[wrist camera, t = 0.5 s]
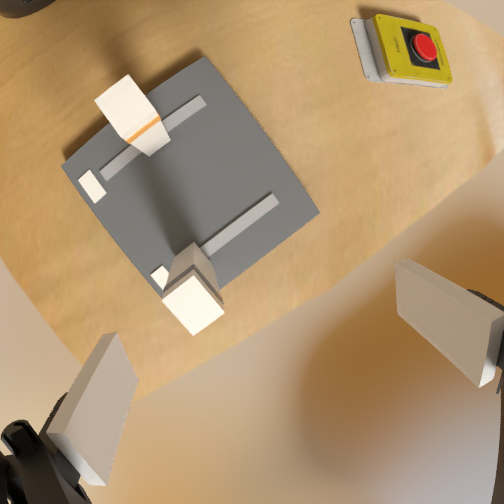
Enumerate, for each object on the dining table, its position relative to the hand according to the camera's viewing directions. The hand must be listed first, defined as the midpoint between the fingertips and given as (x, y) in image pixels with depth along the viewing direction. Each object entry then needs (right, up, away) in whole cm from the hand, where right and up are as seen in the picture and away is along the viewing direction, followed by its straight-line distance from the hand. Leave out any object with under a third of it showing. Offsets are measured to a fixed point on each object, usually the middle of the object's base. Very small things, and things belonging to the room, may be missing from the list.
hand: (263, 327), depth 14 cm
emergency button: (+19, +29, +19) cm, 40 cm away
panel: (-7, +10, +18) cm, 21 cm away
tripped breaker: (-10, +14, +14) cm, 22 cm away
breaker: (-6, +2, +17) cm, 18 cm away
